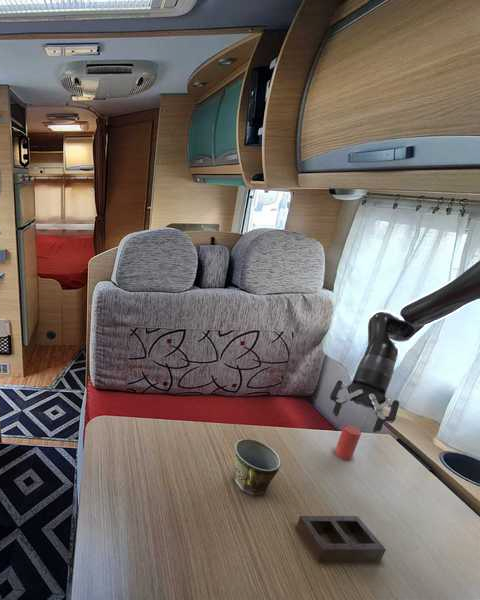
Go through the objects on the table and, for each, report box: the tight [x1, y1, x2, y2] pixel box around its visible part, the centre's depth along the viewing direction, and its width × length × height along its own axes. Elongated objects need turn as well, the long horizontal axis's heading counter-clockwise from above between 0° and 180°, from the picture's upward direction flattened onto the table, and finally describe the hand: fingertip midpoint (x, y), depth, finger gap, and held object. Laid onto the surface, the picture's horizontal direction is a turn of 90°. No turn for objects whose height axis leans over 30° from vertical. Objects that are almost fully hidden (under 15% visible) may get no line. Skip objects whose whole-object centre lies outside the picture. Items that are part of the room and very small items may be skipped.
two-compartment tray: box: [295, 515, 387, 563], centre depth 69 cm, size 13×7×4 cm, turn 91°
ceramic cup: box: [234, 438, 282, 496], centre depth 80 cm, size 13×10×10 cm
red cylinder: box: [334, 424, 362, 461], centre depth 91 cm, size 4×4×9 cm
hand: (354, 424), depth 91 cm, fingers open, 8 cm apart
